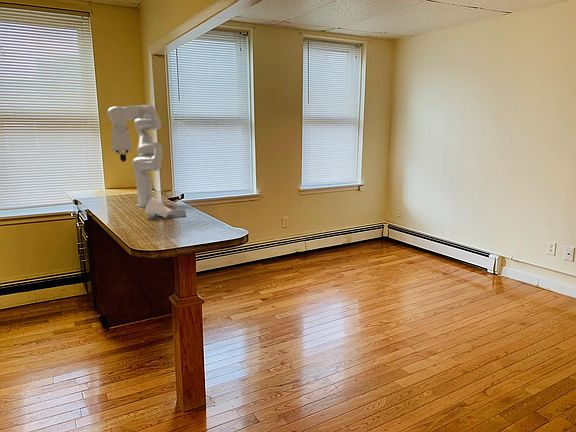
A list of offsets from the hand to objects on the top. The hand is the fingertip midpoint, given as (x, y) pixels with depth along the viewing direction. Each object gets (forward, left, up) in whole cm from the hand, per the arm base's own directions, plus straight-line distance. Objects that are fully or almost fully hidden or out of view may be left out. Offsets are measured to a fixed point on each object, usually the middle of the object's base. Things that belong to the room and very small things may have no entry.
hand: (123, 161), depth 248 cm
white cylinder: (+17, +12, -24) cm, 32 cm away
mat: (+14, +21, -31) cm, 40 cm away
